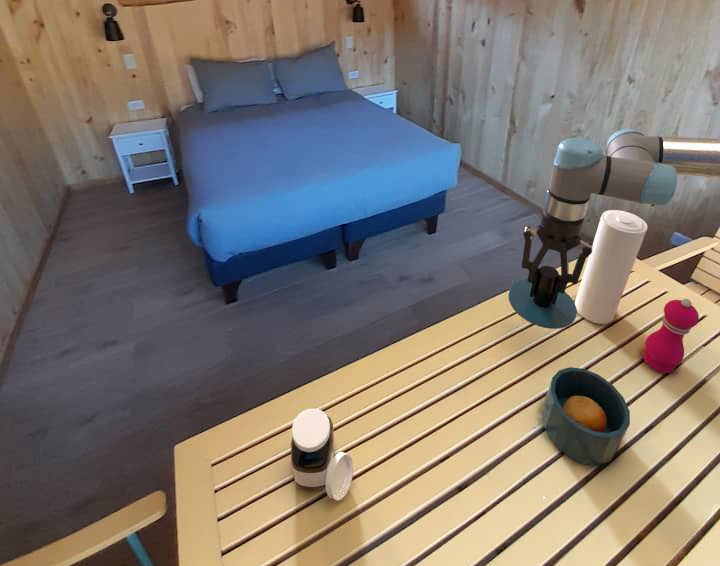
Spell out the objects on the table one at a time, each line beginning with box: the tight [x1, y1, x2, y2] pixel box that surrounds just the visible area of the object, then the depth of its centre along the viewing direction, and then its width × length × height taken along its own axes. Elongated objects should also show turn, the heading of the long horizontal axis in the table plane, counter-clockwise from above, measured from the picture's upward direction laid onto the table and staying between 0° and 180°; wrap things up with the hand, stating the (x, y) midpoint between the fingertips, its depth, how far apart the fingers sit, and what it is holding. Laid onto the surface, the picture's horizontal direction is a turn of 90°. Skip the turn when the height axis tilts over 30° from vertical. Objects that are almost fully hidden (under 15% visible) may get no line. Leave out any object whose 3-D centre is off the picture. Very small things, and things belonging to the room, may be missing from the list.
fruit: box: [562, 396, 607, 433], centre depth 80 cm, size 8×8×8 cm
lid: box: [508, 265, 578, 330], centre depth 91 cm, size 15×15×10 cm
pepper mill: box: [642, 298, 700, 374], centre depth 90 cm, size 7×7×20 cm
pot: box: [541, 366, 631, 467], centre depth 80 cm, size 14×14×10 cm
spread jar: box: [290, 408, 354, 501], centre depth 74 cm, size 12×11×12 cm
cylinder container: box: [574, 209, 648, 325], centre depth 102 cm, size 9×9×30 cm
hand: (543, 296), depth 92 cm, fingers closed on lid, 4 cm apart
